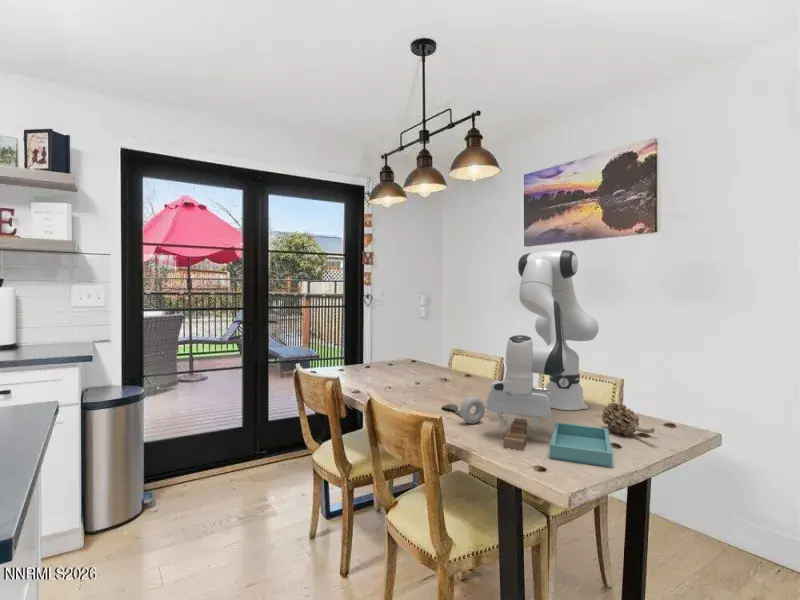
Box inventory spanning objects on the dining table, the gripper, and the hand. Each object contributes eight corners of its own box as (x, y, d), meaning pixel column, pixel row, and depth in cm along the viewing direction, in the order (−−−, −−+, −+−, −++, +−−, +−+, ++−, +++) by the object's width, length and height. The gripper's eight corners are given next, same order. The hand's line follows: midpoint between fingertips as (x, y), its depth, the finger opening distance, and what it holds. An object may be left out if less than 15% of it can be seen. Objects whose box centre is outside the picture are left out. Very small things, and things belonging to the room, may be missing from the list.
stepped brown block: (511, 432, 155) (512, 417, 155) (529, 434, 153) (530, 420, 152) (503, 448, 139) (503, 432, 139) (523, 451, 137) (523, 434, 137)
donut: (463, 426, 160) (463, 398, 160) (458, 423, 163) (458, 396, 163) (486, 423, 164) (487, 396, 164) (481, 420, 168) (481, 394, 167)
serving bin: (554, 433, 154) (555, 422, 153) (607, 440, 147) (608, 428, 147) (549, 458, 131) (550, 445, 131) (611, 467, 125) (612, 453, 125)
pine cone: (592, 428, 160) (593, 400, 160) (613, 425, 164) (614, 398, 164) (647, 449, 140) (647, 417, 140) (669, 445, 143) (670, 414, 143)
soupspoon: (454, 409, 187) (439, 411, 185) (453, 401, 187) (439, 402, 185) (477, 422, 166) (460, 424, 164) (476, 413, 166) (460, 415, 164)
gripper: (552, 387, 146) (551, 429, 146) (489, 380, 154) (488, 421, 154) (551, 390, 140) (550, 434, 141) (486, 384, 148) (485, 426, 148)
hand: (517, 427), depth 147 cm, fingers open, 8 cm apart
